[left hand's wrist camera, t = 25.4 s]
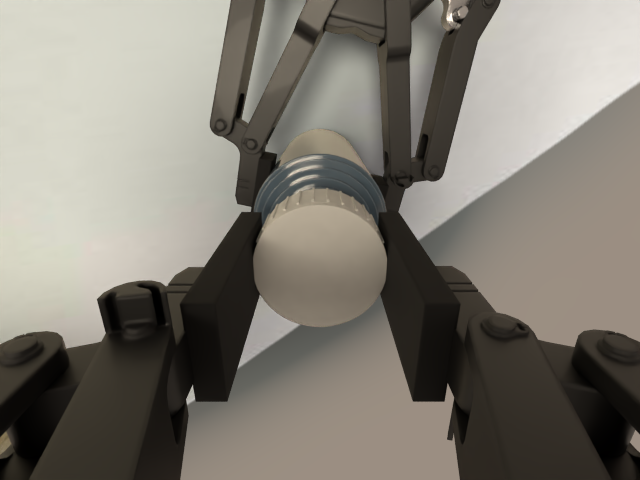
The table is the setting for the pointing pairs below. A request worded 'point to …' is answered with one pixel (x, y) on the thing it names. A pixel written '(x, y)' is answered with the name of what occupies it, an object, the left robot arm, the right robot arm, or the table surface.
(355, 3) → the right robot arm
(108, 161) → the table surface
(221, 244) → the left robot arm
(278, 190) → the bottle
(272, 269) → the cap
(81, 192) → the table surface
